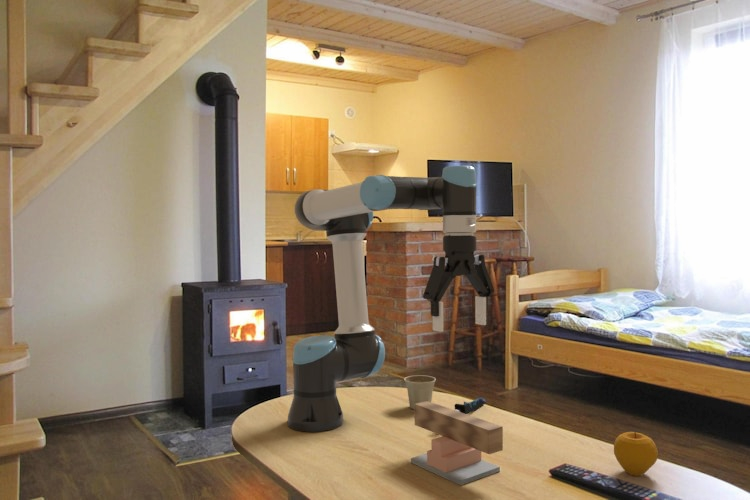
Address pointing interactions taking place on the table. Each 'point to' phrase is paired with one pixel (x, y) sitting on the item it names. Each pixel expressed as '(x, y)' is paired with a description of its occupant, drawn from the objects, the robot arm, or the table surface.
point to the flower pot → (419, 389)
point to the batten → (459, 427)
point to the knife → (470, 406)
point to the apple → (635, 452)
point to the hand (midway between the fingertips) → (460, 327)
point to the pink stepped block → (455, 461)
